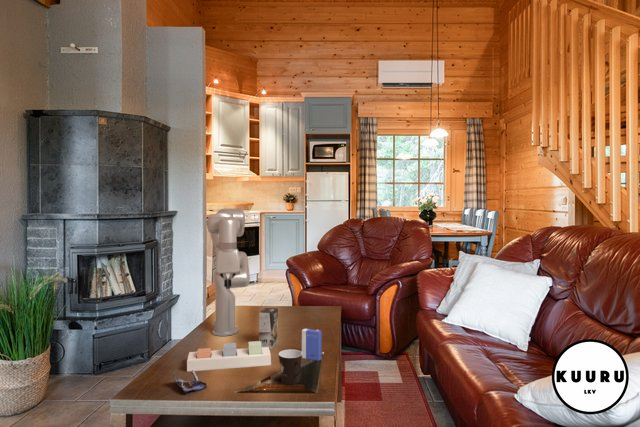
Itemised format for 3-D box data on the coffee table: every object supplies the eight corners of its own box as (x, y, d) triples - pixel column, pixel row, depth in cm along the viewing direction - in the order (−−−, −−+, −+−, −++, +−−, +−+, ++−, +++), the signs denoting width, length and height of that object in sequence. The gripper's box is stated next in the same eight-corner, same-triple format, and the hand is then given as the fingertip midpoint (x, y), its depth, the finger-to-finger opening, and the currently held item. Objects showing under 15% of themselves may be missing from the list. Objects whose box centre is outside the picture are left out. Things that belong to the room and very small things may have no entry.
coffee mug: (278, 376, 161) (278, 349, 161) (301, 375, 162) (301, 349, 161) (278, 389, 150) (278, 361, 149) (303, 389, 150) (303, 360, 150)
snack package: (204, 379, 159) (171, 382, 155) (205, 363, 158) (171, 366, 154) (207, 398, 148) (171, 402, 144) (207, 382, 147) (171, 385, 143)
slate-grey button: (223, 359, 170) (223, 347, 170) (223, 355, 175) (223, 343, 175) (236, 358, 171) (236, 346, 171) (236, 354, 176) (236, 342, 176)
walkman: (321, 358, 179) (321, 329, 179) (318, 360, 177) (318, 331, 176) (304, 355, 182) (304, 327, 182) (301, 357, 180) (301, 329, 179)
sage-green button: (248, 357, 172) (248, 345, 172) (248, 353, 177) (248, 341, 177) (261, 356, 173) (261, 345, 173) (260, 352, 178) (260, 341, 178)
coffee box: (272, 349, 190) (272, 313, 189) (258, 348, 191) (258, 312, 190) (278, 342, 199) (278, 307, 198) (265, 341, 200) (265, 307, 199)
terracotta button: (197, 365, 168) (197, 353, 168) (197, 360, 173) (197, 348, 173) (210, 364, 169) (210, 352, 169) (210, 359, 174) (210, 347, 174)
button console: (187, 371, 165) (187, 361, 165) (189, 361, 175) (189, 352, 175) (270, 365, 172) (270, 355, 171) (268, 356, 181) (268, 346, 181)
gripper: (209, 247, 182) (209, 290, 183) (245, 247, 185) (245, 289, 186) (210, 245, 190) (210, 287, 190) (244, 245, 193) (244, 286, 193)
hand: (227, 288), depth 188 cm, fingers closed
